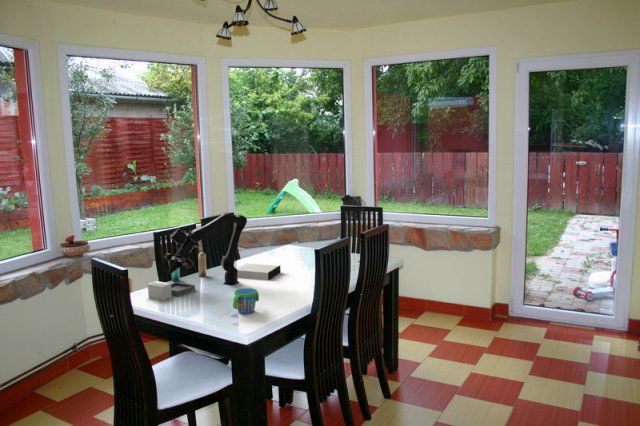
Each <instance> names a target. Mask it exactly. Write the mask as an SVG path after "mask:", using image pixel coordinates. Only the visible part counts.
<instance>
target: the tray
mask: <svg viewBox="0 0 640 426" xmlns="http://www.w3.org/2000/svg"><path fill="white" fill-rule="evenodd" d="M193 291H196V285H195V284H191V283H184V282H179V281H175V282H173V283H171V295H172V296H174V297H180V296H184V295H185V294H188V293H191V292H193Z"/></svg>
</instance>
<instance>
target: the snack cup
mask: <svg viewBox="0 0 640 426" xmlns="http://www.w3.org/2000/svg"><path fill="white" fill-rule="evenodd" d="M233 294H234V297H233V303H232V308H233V310H237V311H238V313H239V314H241V315H249V314H252V313H254V312H255V310H256V309H255V308H256V302H259V301H260V297H259V292H258V290H257V289H255V288H252V287H251V288H250V287H245V288H238V289H235V290H234V292H233Z"/></svg>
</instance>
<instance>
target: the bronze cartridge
mask: <svg viewBox="0 0 640 426" xmlns="http://www.w3.org/2000/svg"><path fill="white" fill-rule="evenodd" d="M197 258H198V259H197V260H198V277H200V278H205V277H207V254H206V253H205V252H199V253H198V256H197Z"/></svg>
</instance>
